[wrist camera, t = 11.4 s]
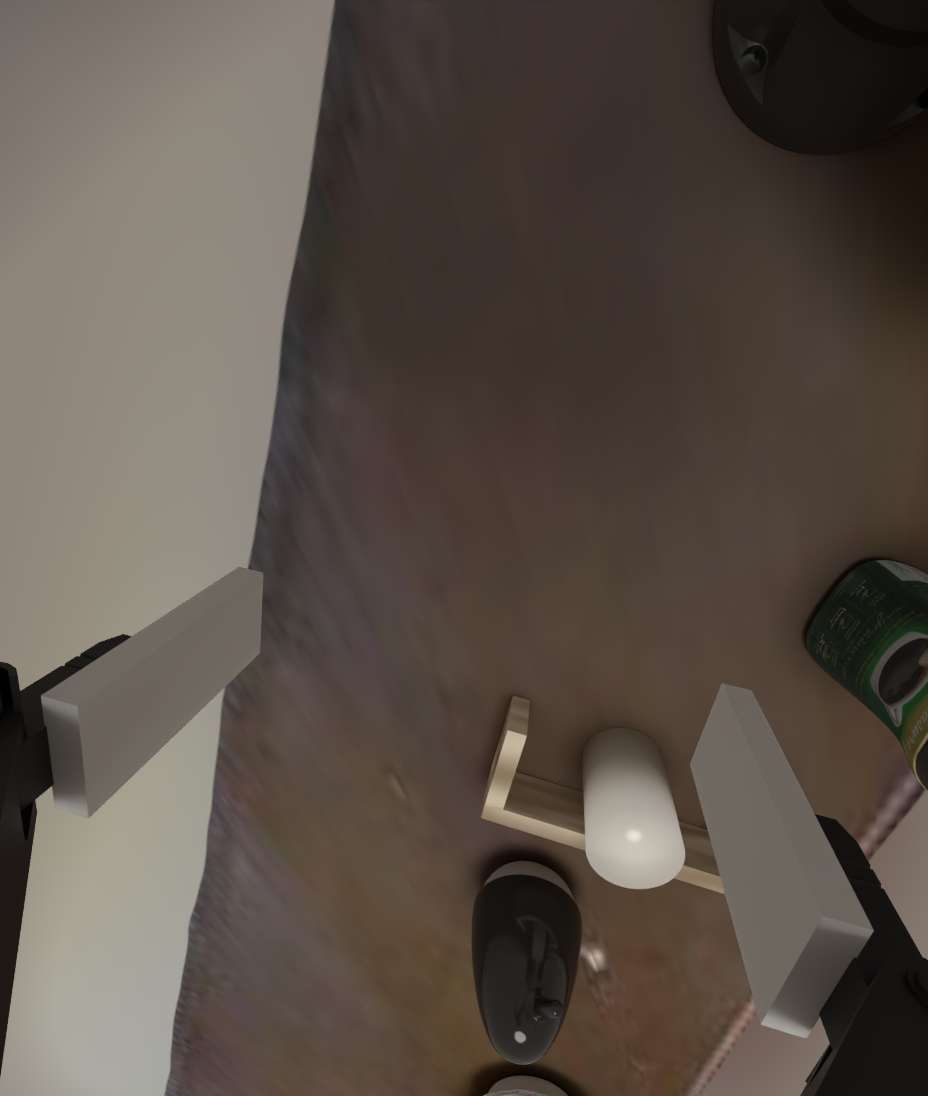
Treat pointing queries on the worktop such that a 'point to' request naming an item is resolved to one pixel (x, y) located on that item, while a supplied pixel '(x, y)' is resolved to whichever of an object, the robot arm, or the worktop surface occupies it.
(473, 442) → the worktop surface
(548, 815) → the rest cradle
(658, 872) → the white domed cylinder
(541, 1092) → the paper bowls
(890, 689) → the coffee jar
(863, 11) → the robot arm
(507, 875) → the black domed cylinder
